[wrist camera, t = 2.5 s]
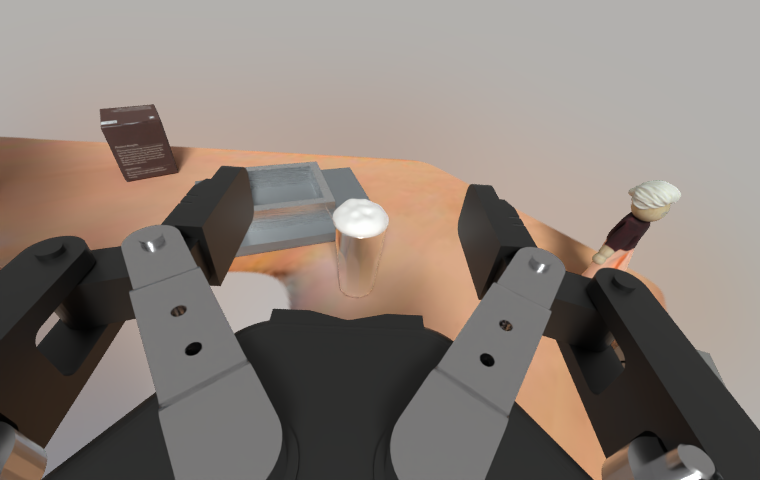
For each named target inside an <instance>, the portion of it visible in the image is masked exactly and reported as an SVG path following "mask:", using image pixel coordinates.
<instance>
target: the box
mask: <svg viewBox="0 0 760 480" xmlns="http://www.w3.org/2000/svg"><path fill="white" fill-rule="evenodd" d="M100 117H101V129H102V132H103V134H104V135H105V138H106V140H107V142H108V144H109V146H110V148H111V150H112V153H113V155H114V157H115V159H116V161H117V163H118V165H119V168H120V170H121V172H122V174H123V176H124V178H125V180H126V181H127V182H128V181H133V180H138V179H144V178H149V177H155V176H160V175H165V174H171V173H177V172H178V170H177V167H176V163H175V160H174V157H173V154H172V151H171V148H170V145H169V142H168V139H167V137H166V134H165V131H164V128H163V125H162V122H161V120H160V117H159V115H158V112H157V111H156V108H155V106H154V105H153V104H152V105H143V106H132V107H121V108H109V109H100Z"/></svg>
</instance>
